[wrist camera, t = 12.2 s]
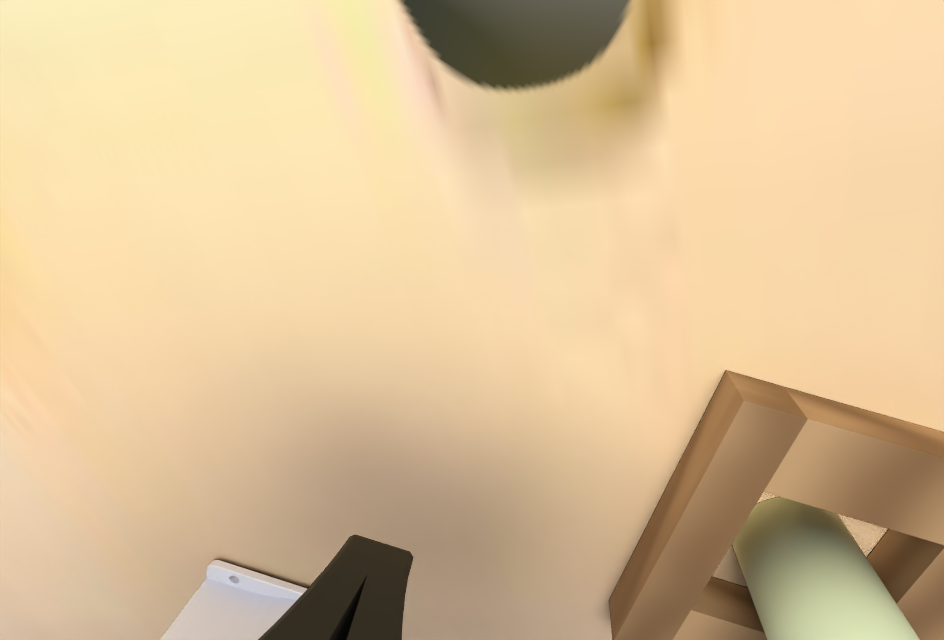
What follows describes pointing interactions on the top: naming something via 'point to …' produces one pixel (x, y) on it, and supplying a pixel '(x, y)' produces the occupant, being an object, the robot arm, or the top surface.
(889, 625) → the peg
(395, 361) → the top surface
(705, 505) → the walnut board
